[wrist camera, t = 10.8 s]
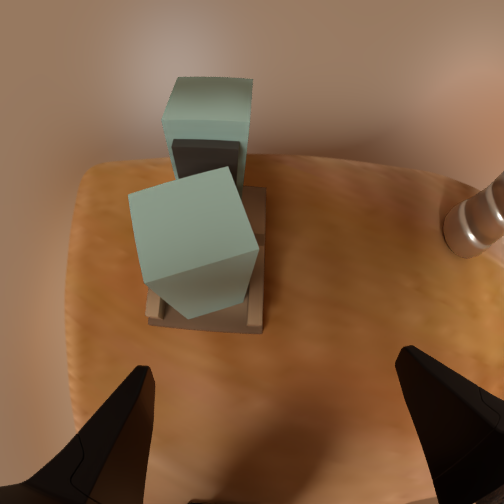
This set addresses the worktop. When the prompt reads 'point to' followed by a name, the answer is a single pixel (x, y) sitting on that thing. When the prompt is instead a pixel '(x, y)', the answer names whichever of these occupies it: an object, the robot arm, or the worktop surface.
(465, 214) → the plastic bottle
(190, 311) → the block
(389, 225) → the worktop surface
